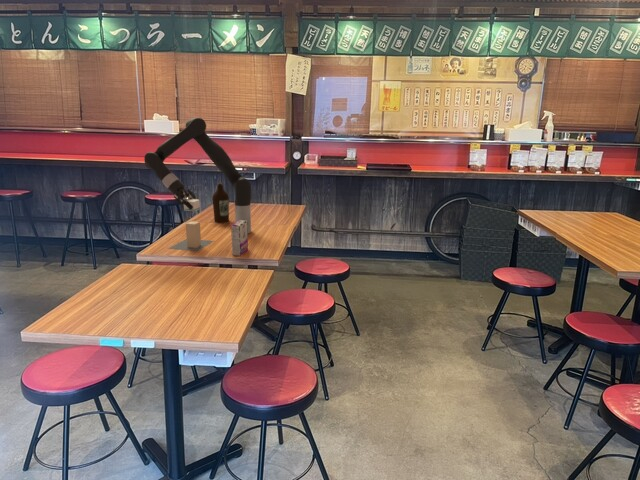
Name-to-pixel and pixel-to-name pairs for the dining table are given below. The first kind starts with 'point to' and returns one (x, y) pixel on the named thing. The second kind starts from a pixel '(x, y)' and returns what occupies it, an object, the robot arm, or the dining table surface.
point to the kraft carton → (193, 234)
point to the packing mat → (183, 246)
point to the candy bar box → (239, 237)
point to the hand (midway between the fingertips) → (194, 207)
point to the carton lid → (194, 203)
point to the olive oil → (221, 205)
